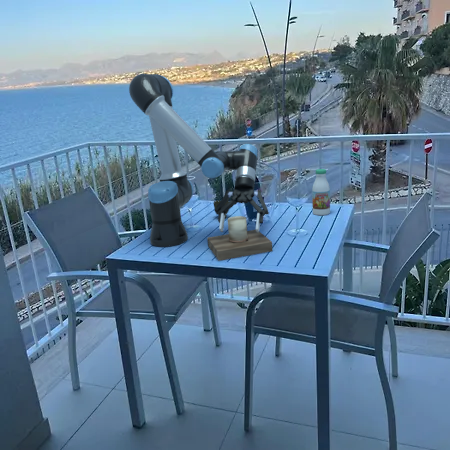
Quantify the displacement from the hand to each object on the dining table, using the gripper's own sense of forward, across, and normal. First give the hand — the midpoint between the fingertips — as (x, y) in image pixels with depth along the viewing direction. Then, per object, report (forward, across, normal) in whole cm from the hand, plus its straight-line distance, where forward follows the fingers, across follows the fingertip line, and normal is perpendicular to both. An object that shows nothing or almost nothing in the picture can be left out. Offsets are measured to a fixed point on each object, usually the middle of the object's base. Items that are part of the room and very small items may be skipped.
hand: (238, 230), depth 148 cm
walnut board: (+5, 0, -6) cm, 7 cm away
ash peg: (+4, +1, -5) cm, 7 cm away
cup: (-22, +18, -33) cm, 44 cm away
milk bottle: (-27, -27, -38) cm, 54 cm away
